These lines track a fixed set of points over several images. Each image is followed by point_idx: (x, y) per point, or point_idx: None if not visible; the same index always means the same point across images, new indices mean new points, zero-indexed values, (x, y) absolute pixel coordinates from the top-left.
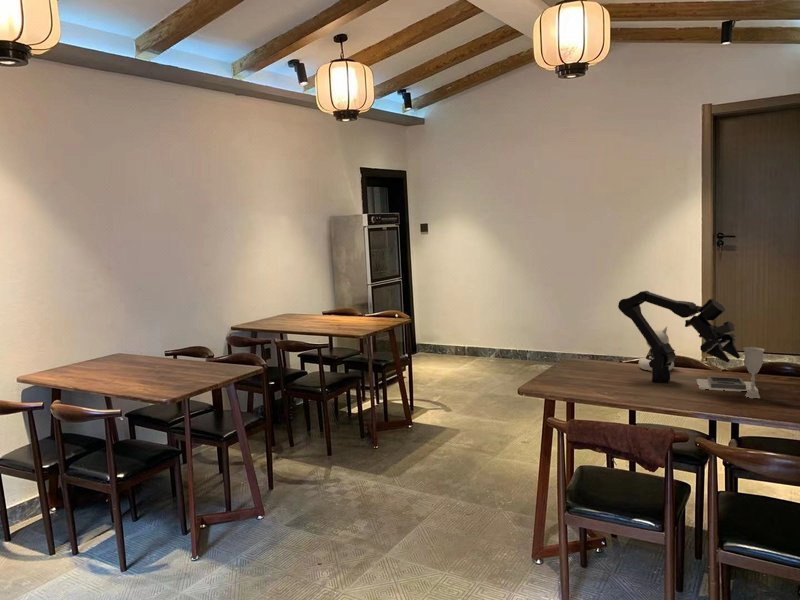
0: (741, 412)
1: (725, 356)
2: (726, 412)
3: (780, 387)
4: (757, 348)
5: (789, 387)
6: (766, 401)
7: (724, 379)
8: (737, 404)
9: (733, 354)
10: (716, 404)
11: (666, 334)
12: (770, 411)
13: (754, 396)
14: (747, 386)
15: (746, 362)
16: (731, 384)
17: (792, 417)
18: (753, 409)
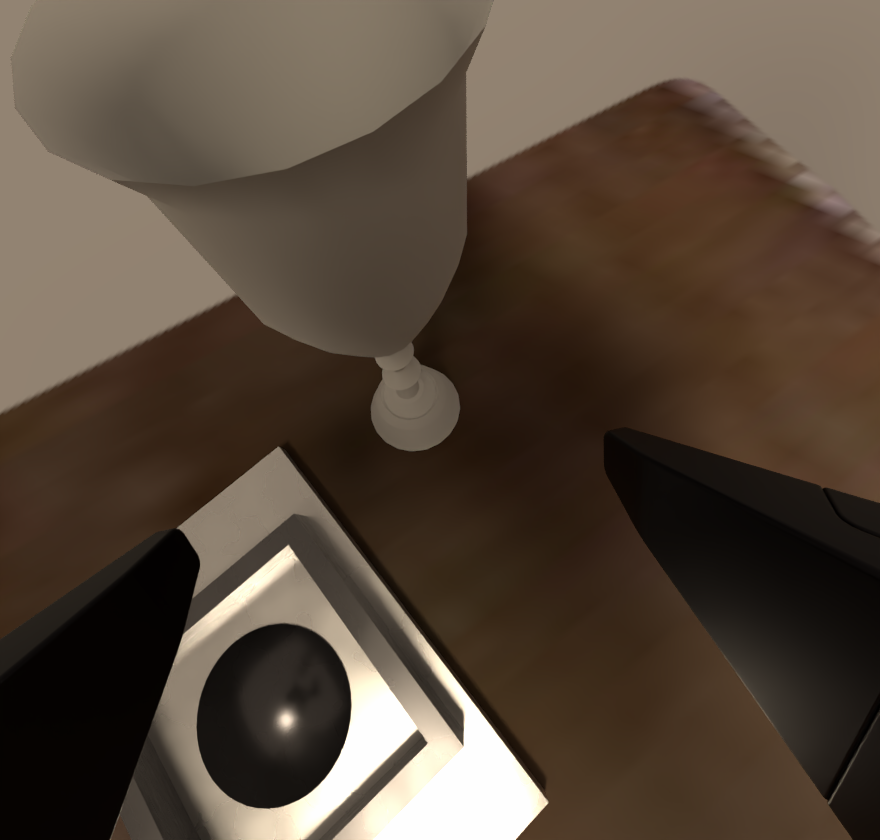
0: (766, 250)
1: (728, 464)
2: (851, 285)
3: (56, 450)
4: (50, 58)
5: (24, 420)
6: (446, 309)
7: (167, 809)
8: (651, 352)
9: (142, 670)
10: (778, 416)
11: None
12: (606, 199)
13: (439, 375)
14: (221, 558)
15: (459, 260)
16: (354, 601)
17: (603, 113)
18: (655, 254)
